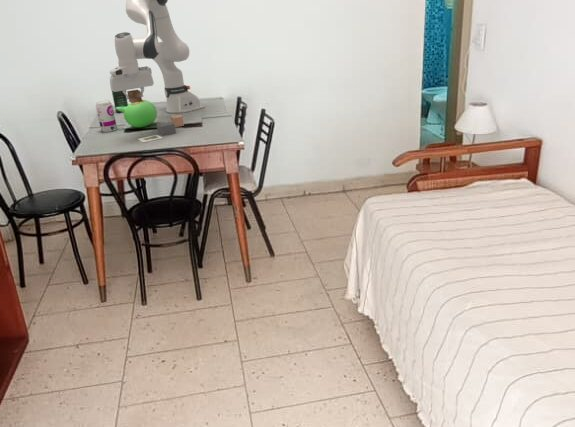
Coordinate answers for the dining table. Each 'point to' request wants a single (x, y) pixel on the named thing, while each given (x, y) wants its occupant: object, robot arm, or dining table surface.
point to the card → (150, 138)
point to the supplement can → (106, 116)
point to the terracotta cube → (177, 120)
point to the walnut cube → (134, 96)
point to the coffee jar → (119, 100)
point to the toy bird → (139, 113)
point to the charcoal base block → (166, 128)
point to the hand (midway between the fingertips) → (135, 98)
